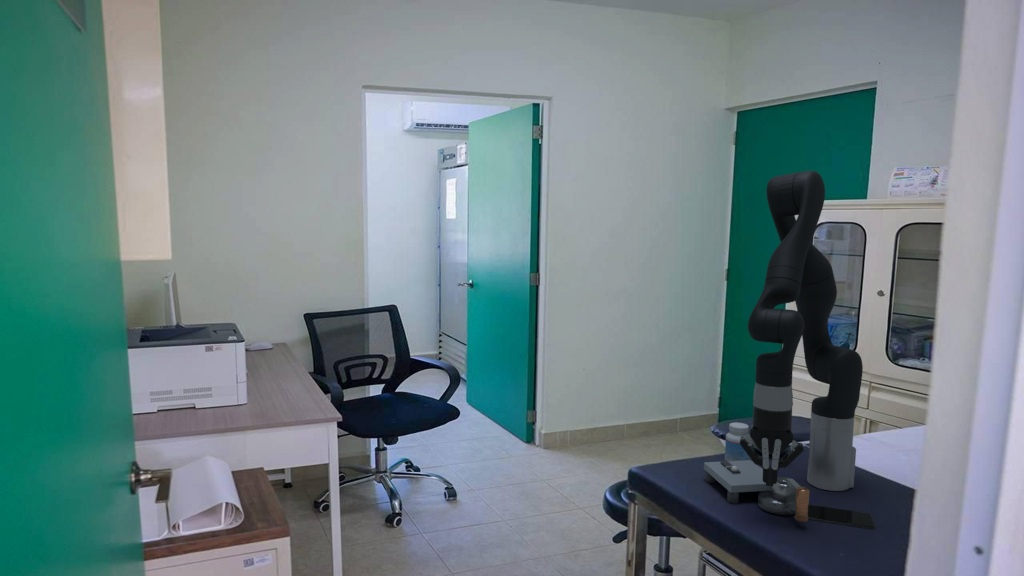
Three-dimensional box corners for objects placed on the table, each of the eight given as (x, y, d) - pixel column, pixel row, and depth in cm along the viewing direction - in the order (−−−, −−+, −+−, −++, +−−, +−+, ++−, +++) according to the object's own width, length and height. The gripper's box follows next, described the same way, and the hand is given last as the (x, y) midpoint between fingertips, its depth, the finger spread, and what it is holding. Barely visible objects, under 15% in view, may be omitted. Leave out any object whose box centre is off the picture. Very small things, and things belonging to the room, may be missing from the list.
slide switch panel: (749, 476, 164) (750, 454, 164) (780, 501, 150) (782, 476, 150) (703, 479, 162) (704, 456, 162) (730, 504, 149) (731, 479, 148)
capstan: (752, 498, 151) (754, 464, 150) (788, 499, 151) (790, 465, 150) (777, 528, 137) (779, 491, 136) (817, 528, 137) (819, 491, 136)
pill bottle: (751, 474, 166) (753, 429, 165) (725, 471, 167) (727, 428, 166) (748, 465, 172) (750, 422, 171) (723, 463, 173) (725, 420, 172)
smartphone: (796, 519, 142) (876, 532, 137) (796, 516, 142) (876, 528, 137) (795, 505, 149) (871, 516, 144) (795, 502, 149) (871, 513, 144)
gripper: (806, 402, 140) (802, 482, 142) (739, 396, 145) (736, 474, 147) (808, 412, 133) (804, 496, 135) (738, 406, 138) (735, 487, 140)
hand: (769, 484), depth 141 cm, fingers closed
